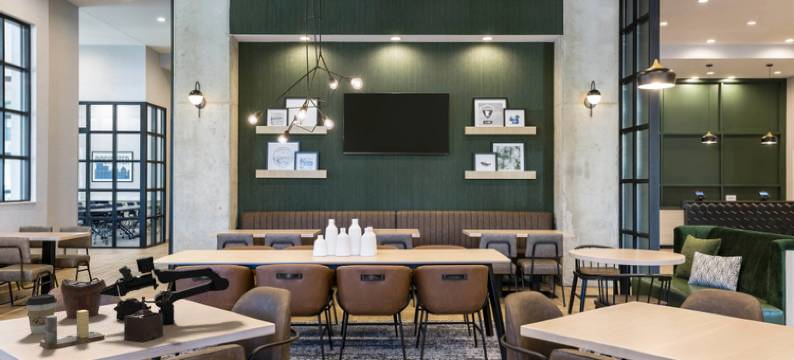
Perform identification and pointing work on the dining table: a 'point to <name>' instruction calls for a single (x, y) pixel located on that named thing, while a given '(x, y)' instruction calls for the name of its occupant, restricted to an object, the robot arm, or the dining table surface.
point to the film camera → (128, 307)
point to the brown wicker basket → (82, 296)
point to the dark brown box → (145, 322)
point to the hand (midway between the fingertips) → (100, 291)
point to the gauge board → (54, 342)
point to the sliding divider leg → (82, 323)
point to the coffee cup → (40, 311)
